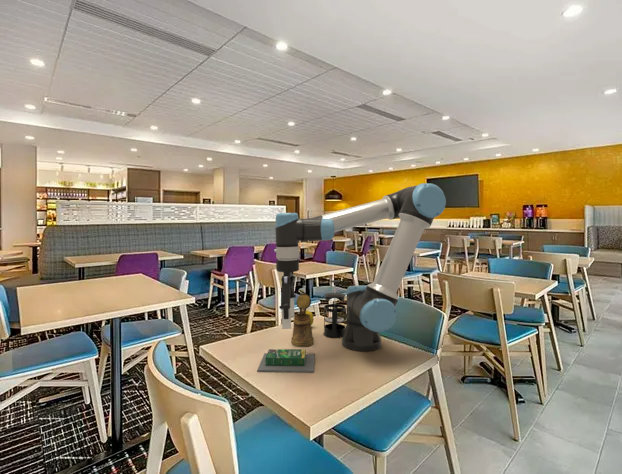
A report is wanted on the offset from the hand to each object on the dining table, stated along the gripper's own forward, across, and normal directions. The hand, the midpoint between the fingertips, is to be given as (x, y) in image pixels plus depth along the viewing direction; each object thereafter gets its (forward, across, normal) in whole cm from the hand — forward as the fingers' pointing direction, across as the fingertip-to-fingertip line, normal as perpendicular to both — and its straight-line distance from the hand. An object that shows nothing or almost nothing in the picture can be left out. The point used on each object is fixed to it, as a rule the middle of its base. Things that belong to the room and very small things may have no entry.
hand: (288, 322), depth 116 cm
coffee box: (+12, 0, -8) cm, 14 cm away
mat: (+14, 0, -1) cm, 14 cm away
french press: (+15, -31, +16) cm, 38 cm away
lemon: (+14, -39, +4) cm, 42 cm away
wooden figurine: (+14, -22, +3) cm, 26 cm away
